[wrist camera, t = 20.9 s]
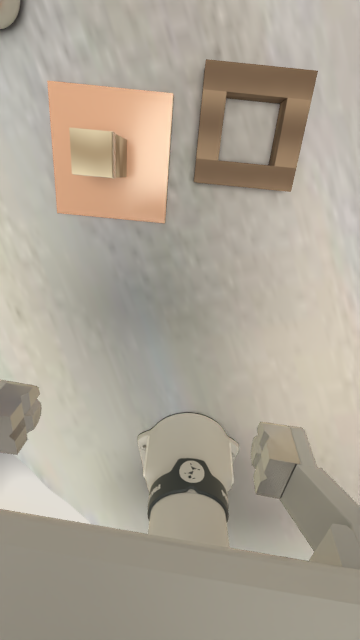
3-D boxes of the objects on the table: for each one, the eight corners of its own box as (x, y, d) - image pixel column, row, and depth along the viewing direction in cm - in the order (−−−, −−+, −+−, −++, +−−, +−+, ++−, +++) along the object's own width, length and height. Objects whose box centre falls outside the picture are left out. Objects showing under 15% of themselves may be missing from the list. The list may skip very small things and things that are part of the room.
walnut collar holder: (283, 190, 39) (290, 191, 37) (193, 181, 39) (193, 182, 37) (307, 79, 35) (317, 70, 32) (204, 68, 34) (206, 59, 32)
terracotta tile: (165, 222, 42) (164, 223, 41) (60, 212, 41) (57, 212, 40) (173, 95, 36) (173, 93, 35) (51, 82, 35) (47, 80, 35)
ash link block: (126, 177, 38) (112, 178, 31) (93, 174, 38) (71, 174, 31) (127, 139, 37) (112, 130, 29) (92, 136, 37) (68, 126, 29)
